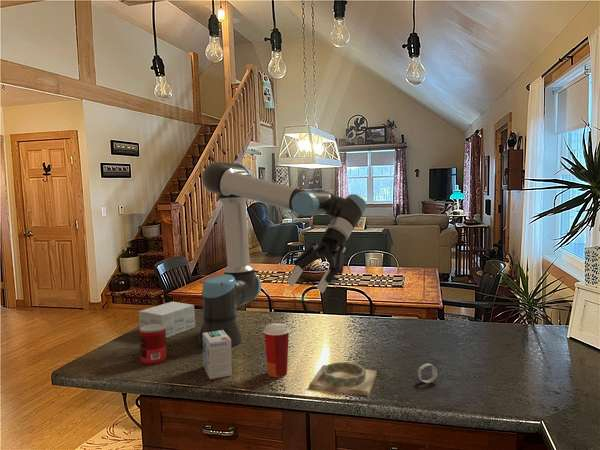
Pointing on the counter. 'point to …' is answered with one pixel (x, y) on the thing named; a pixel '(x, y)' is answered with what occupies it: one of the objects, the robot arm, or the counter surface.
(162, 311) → the supplement box
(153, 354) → the canned food
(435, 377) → the grey ring
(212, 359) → the light bulb box
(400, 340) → the counter surface
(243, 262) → the robot arm
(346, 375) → the cup holder
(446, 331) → the counter surface
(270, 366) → the paper cup
